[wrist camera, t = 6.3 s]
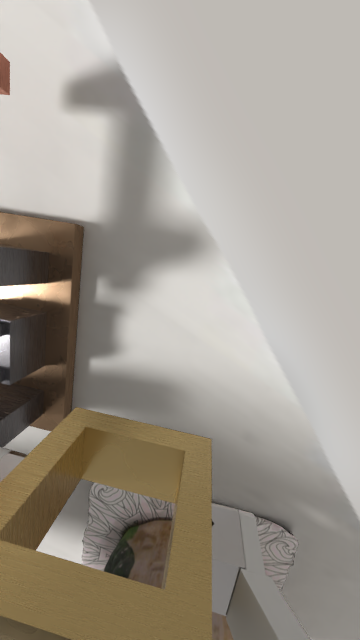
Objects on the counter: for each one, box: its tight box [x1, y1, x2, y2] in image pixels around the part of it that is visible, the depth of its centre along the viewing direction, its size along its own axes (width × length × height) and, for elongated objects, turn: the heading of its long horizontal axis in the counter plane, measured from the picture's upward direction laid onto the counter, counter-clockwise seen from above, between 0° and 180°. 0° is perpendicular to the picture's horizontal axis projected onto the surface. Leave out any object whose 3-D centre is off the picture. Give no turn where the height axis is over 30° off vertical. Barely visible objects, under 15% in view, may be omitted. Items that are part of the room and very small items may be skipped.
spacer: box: [0, 407, 212, 640], centre depth 7 cm, size 2×6×6 cm, turn 80°
